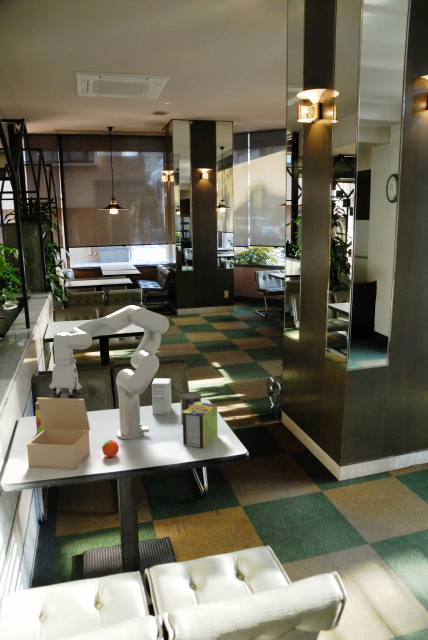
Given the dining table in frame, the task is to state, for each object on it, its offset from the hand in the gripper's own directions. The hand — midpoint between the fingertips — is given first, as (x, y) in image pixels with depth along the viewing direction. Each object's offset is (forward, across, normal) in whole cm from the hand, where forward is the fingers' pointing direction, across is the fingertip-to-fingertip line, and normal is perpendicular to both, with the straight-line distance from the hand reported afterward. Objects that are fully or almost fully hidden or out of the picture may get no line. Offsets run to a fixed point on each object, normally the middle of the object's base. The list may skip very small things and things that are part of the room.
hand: (66, 402), depth 220 cm
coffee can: (+21, -49, -37) cm, 65 cm away
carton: (+22, 0, +9) cm, 24 cm away
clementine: (+22, -20, +4) cm, 30 cm away
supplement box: (+22, -31, -51) cm, 64 cm away
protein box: (+22, -57, -16) cm, 63 cm away
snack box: (+22, +12, -20) cm, 33 cm away
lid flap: (+4, 0, +4) cm, 6 cm away
